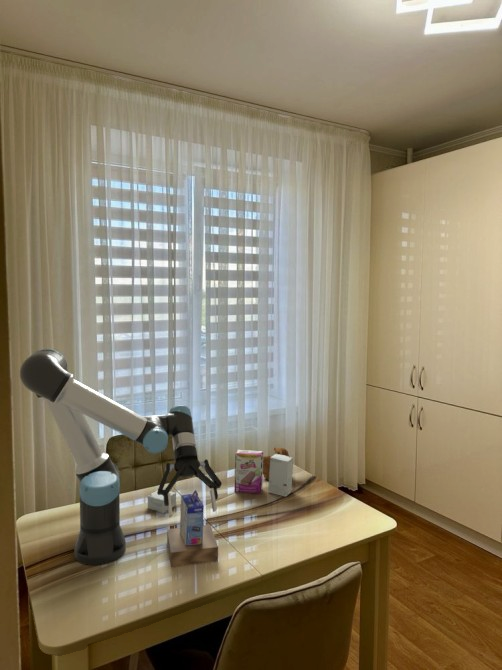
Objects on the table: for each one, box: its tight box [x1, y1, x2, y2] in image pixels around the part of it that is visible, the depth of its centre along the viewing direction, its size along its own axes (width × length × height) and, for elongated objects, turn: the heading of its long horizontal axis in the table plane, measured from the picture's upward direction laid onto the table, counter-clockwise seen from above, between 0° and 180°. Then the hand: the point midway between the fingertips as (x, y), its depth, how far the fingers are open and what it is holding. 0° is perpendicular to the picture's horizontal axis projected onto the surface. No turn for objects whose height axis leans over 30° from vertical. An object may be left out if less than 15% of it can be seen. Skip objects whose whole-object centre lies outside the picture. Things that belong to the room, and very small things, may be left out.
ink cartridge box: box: [179, 489, 205, 546], centre depth 146 cm, size 10×6×14 cm, turn 20°
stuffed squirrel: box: [263, 446, 294, 481], centre depth 206 cm, size 10×14×13 cm
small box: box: [147, 488, 177, 514], centre depth 177 cm, size 8×8×5 cm
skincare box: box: [267, 453, 295, 498], centre depth 191 cm, size 8×6×15 cm
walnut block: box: [166, 524, 219, 568], centre depth 147 cm, size 14×14×5 cm
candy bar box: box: [234, 449, 264, 495], centre depth 192 cm, size 11×5×16 cm, turn 84°
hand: (193, 513), depth 144 cm, fingers open, 13 cm apart
